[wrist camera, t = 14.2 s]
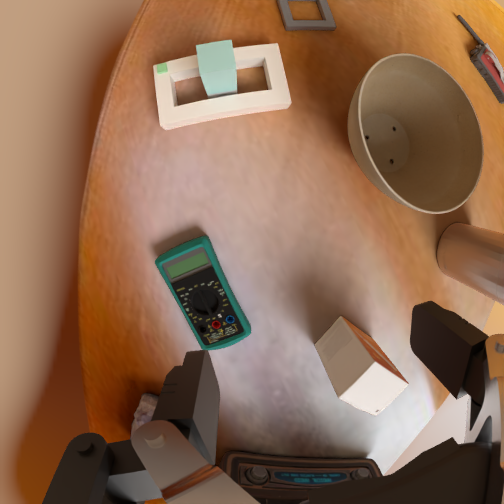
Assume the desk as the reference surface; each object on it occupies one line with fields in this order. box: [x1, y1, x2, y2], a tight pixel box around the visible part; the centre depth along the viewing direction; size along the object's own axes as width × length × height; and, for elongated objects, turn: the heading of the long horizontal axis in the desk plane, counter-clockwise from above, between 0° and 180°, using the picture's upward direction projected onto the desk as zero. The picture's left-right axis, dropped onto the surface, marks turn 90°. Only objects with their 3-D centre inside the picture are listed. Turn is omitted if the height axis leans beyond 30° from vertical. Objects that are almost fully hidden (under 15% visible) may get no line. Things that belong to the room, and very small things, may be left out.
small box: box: [314, 316, 409, 416], centre depth 35 cm, size 8×6×13 cm
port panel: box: [153, 43, 291, 130], centre depth 31 cm, size 16×9×4 cm, turn 100°
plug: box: [196, 40, 237, 99], centre depth 28 cm, size 4×4×10 cm
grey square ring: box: [277, 0, 336, 31], centre depth 29 cm, size 7×7×1 cm
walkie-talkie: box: [457, 15, 504, 104], centre depth 29 cm, size 9×4×20 cm
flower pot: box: [348, 53, 484, 214], centre depth 29 cm, size 18×18×12 cm
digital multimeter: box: [155, 236, 251, 350], centre depth 38 cm, size 8×15×3 cm, turn 23°
